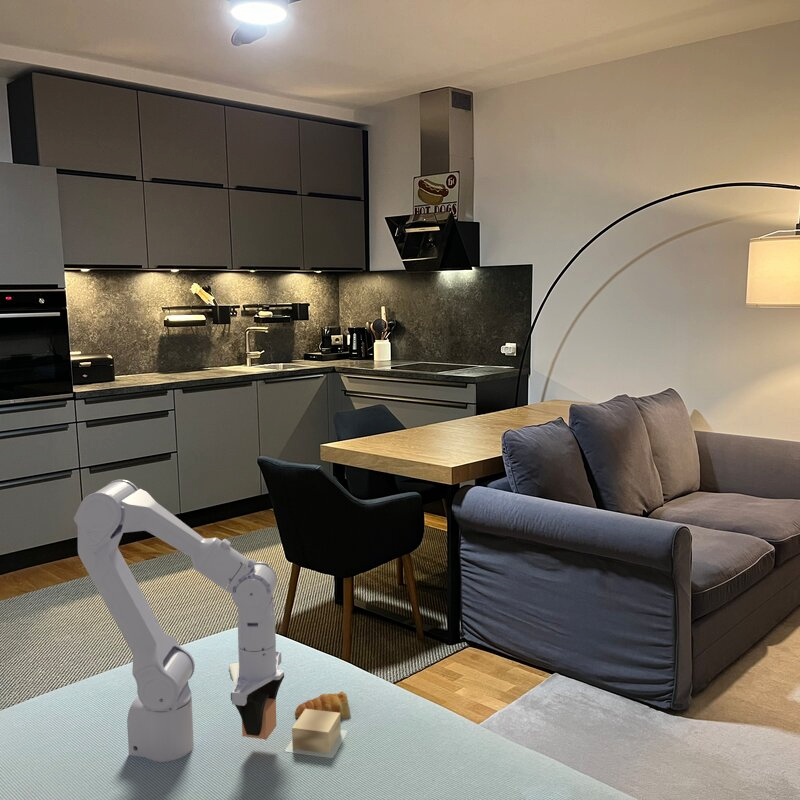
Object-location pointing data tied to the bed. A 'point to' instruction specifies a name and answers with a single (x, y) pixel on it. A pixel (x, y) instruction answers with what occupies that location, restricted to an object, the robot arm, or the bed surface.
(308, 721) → the base block
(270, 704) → the top block
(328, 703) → the pastry
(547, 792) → the bed surface
